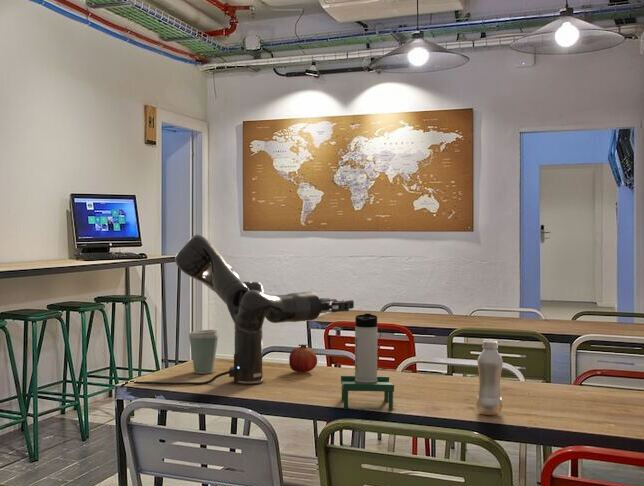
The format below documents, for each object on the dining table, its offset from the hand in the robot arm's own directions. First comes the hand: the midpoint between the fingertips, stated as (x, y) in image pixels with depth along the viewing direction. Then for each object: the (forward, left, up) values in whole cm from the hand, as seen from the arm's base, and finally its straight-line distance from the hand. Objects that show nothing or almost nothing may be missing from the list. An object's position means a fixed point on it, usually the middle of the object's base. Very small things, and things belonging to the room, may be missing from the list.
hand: (340, 303), depth 204 cm
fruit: (-10, +56, -30) cm, 64 cm away
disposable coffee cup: (-45, +54, -30) cm, 76 cm away
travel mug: (+8, +8, -24) cm, 27 cm away
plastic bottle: (+40, -1, -30) cm, 50 cm away
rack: (+8, +8, -30) cm, 32 cm away
